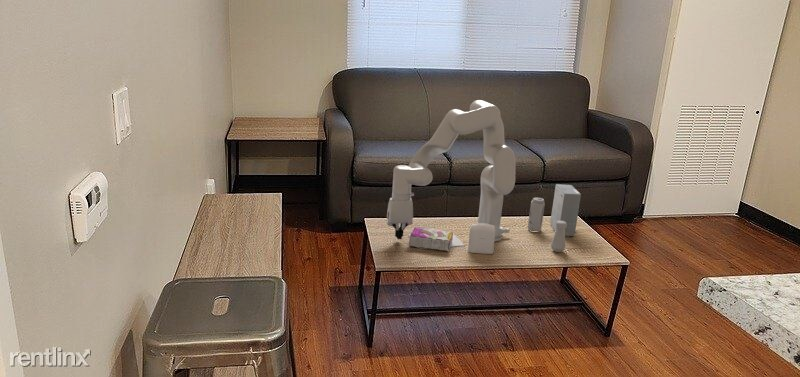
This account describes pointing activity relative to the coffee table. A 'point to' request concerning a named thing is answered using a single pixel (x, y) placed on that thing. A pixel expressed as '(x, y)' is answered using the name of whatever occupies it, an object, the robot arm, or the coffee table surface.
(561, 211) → the hard drive box
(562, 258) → the coffee table surface
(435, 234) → the candy bar box
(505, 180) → the robot arm
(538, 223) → the energy drink can
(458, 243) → the mat
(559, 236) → the salt shaker
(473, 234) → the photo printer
